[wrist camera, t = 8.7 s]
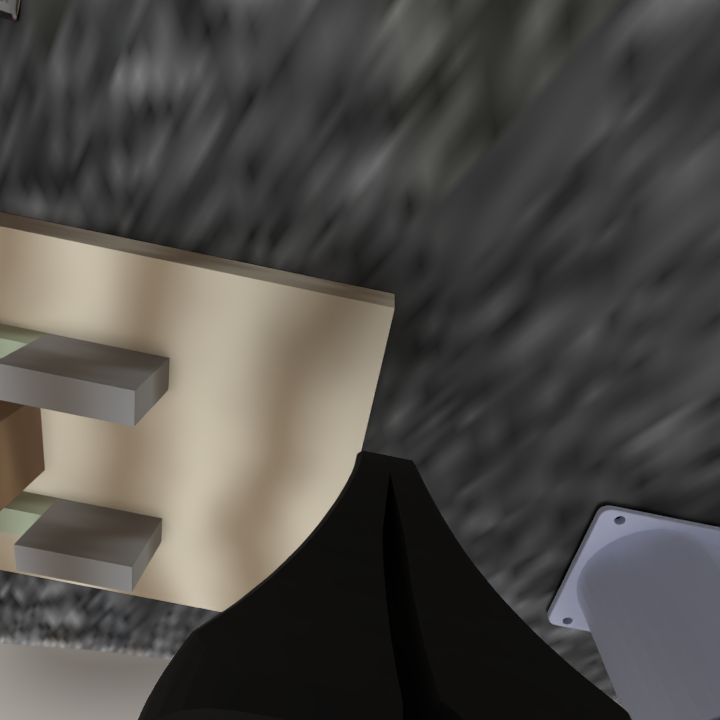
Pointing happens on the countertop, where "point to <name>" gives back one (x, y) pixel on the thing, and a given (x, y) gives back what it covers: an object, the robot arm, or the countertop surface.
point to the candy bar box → (9, 9)
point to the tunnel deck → (177, 410)
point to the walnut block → (19, 449)
